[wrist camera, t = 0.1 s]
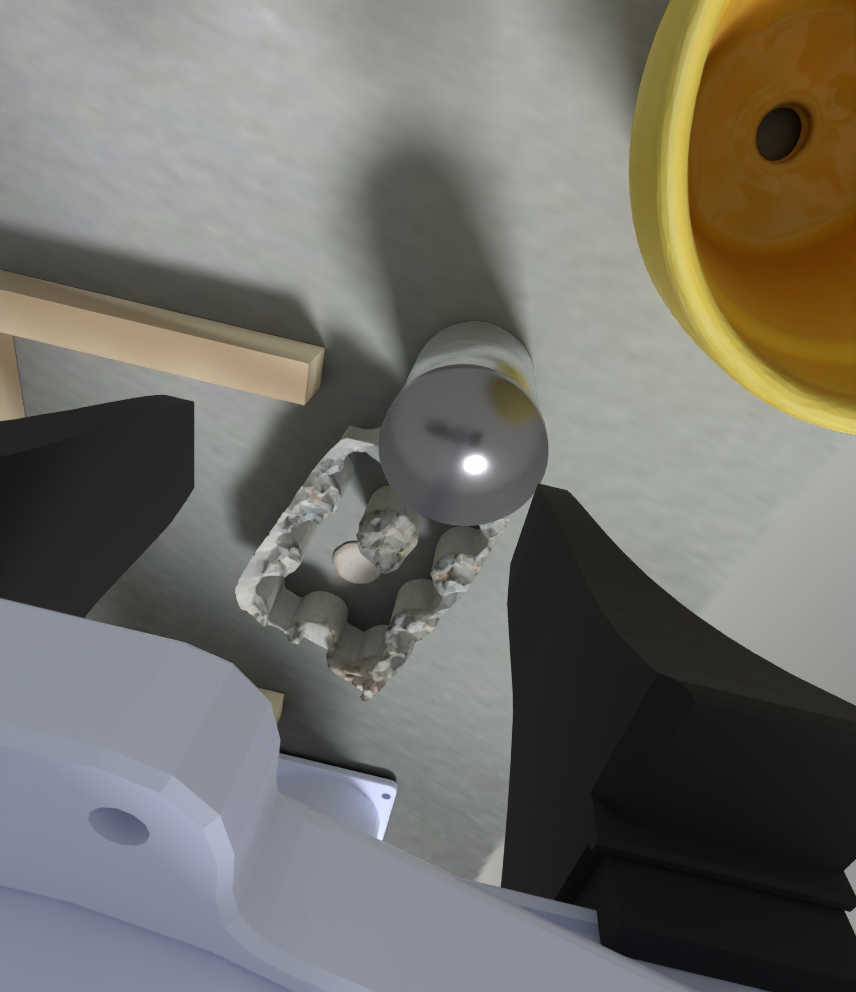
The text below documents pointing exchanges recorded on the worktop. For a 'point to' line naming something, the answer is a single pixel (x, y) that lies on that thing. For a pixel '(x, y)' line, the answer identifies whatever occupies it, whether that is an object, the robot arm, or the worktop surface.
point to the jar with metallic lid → (466, 428)
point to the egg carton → (359, 571)
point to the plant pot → (755, 194)
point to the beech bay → (150, 348)
